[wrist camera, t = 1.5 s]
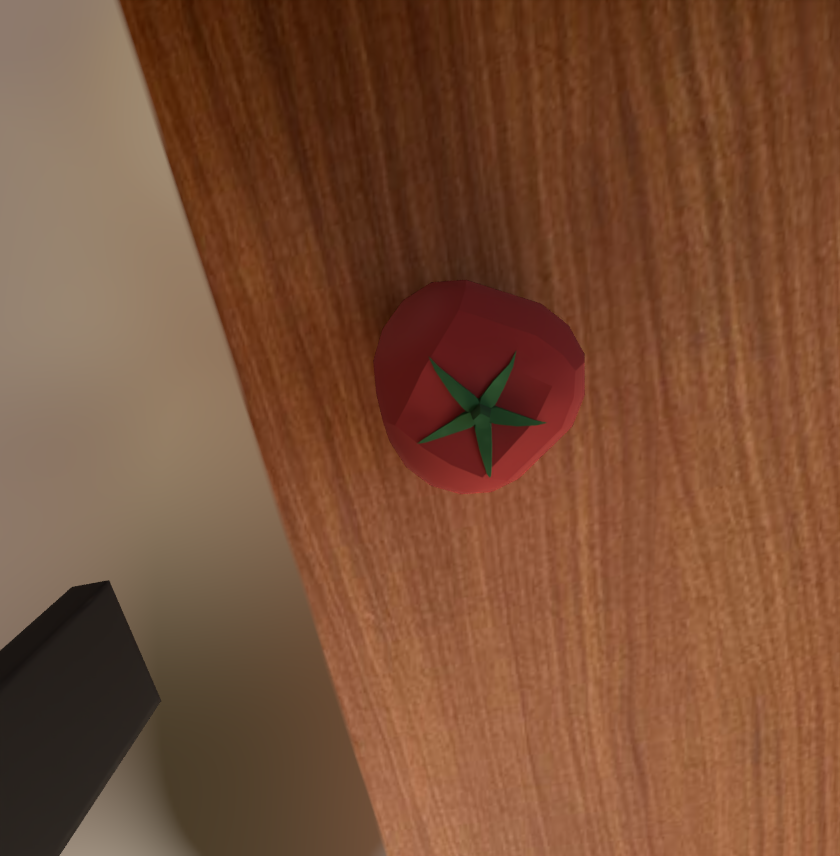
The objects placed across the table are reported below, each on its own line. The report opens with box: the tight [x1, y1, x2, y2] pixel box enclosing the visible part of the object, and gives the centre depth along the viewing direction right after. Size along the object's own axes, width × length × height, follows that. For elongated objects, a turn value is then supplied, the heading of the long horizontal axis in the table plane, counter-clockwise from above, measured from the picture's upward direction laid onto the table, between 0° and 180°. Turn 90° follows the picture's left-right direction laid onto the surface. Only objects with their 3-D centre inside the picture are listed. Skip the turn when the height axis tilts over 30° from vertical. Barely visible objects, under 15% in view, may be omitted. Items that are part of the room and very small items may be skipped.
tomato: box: [373, 280, 585, 494], centre depth 23 cm, size 8×8×7 cm
